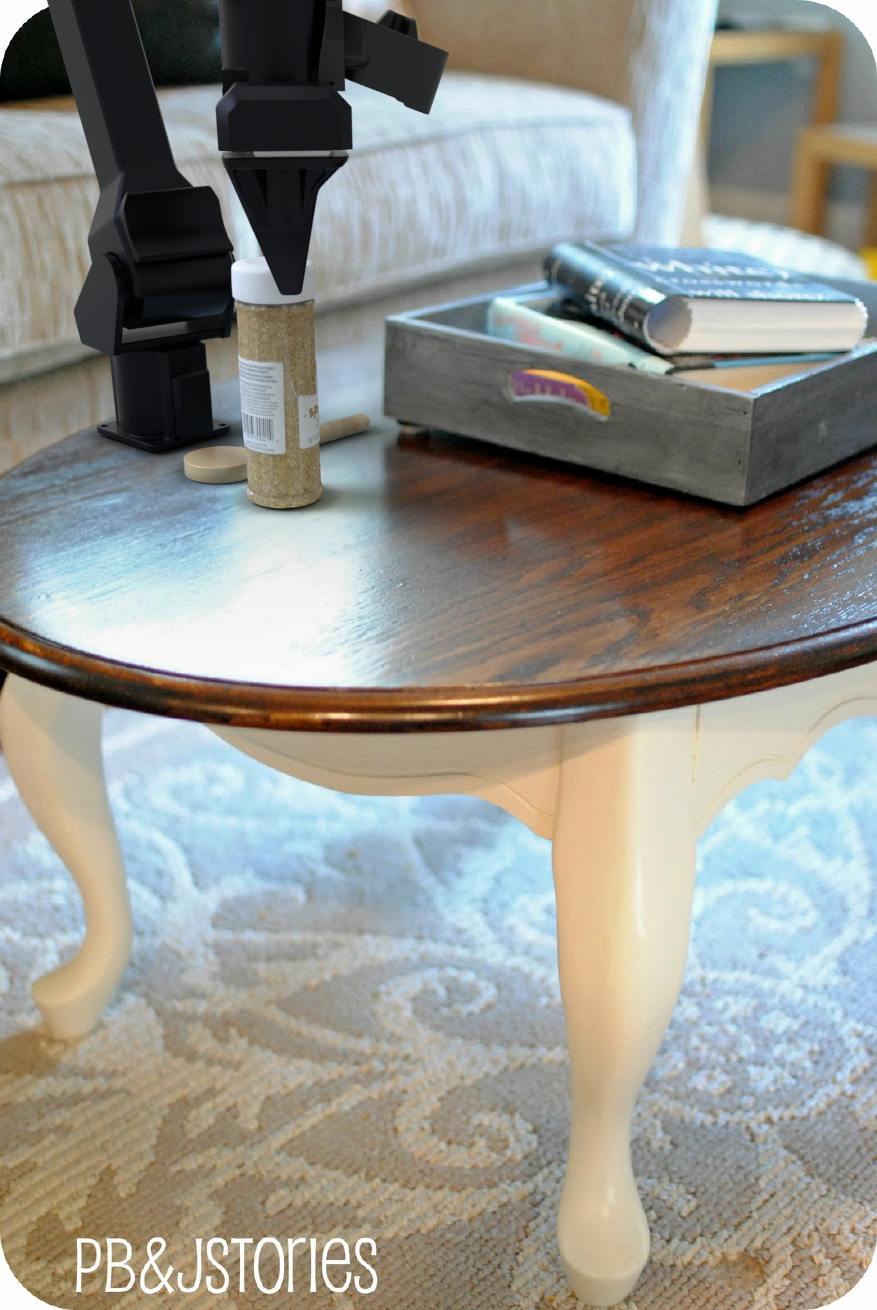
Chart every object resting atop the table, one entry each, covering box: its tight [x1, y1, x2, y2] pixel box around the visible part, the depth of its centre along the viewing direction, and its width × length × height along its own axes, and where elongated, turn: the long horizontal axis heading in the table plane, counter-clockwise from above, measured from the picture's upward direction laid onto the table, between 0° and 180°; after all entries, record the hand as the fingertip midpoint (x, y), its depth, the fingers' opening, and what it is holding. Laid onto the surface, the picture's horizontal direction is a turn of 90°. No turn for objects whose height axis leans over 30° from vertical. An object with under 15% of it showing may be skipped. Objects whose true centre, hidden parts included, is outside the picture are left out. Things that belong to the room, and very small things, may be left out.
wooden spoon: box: [183, 413, 371, 485], centre depth 87 cm, size 15×4×1 cm, turn 137°
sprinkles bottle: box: [231, 255, 324, 509], centre depth 76 cm, size 5×5×14 cm
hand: (288, 278), depth 74 cm, fingers open, 9 cm apart
